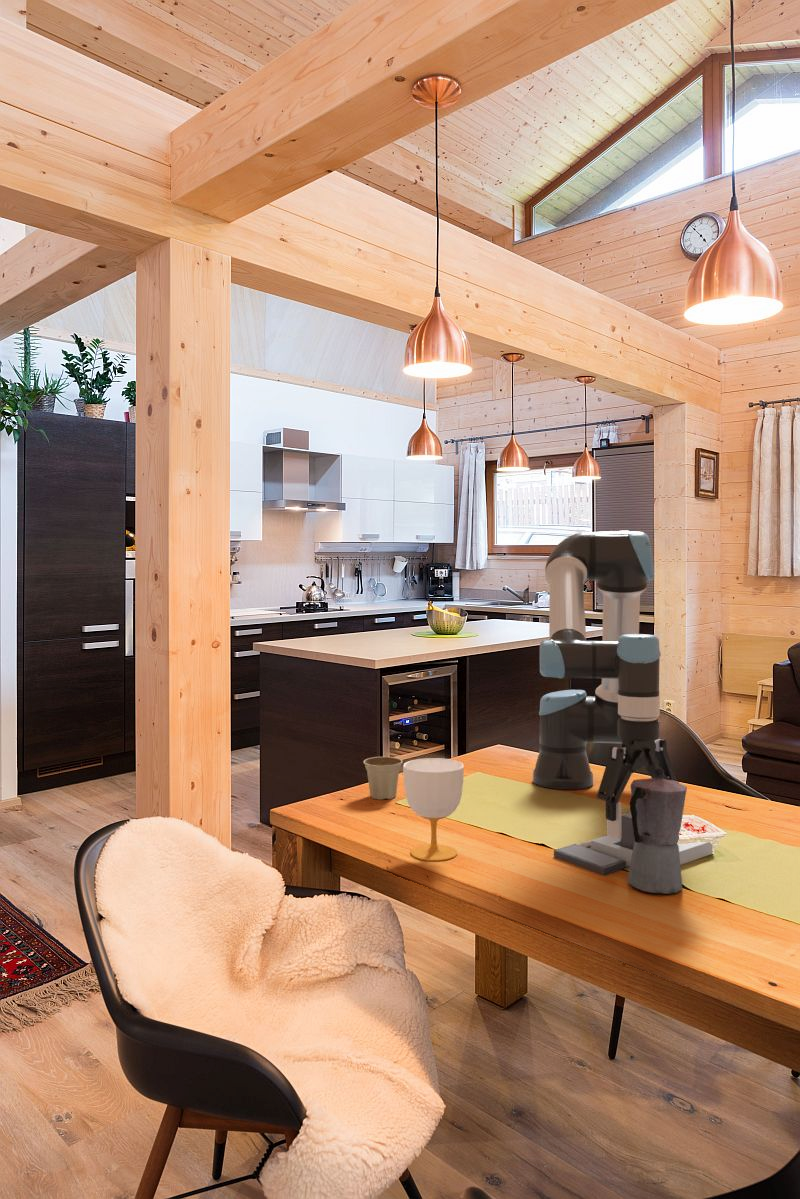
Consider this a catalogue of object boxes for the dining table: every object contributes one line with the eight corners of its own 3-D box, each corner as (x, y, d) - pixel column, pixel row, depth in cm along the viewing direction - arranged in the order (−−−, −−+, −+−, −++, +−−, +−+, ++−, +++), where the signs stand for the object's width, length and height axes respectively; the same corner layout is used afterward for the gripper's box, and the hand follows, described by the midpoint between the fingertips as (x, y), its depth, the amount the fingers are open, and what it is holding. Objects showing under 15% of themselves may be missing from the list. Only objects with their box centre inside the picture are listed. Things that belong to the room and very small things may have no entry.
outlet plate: (650, 835, 167) (650, 821, 166) (712, 853, 155) (712, 839, 155) (591, 853, 156) (591, 839, 156) (652, 874, 145) (652, 859, 145)
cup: (442, 868, 148) (441, 775, 148) (391, 855, 156) (390, 766, 155) (476, 850, 158) (475, 763, 157) (426, 839, 165) (426, 755, 164)
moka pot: (700, 881, 142) (701, 766, 141) (662, 908, 130) (662, 784, 129) (648, 868, 148) (648, 758, 147) (607, 893, 136) (607, 774, 136)
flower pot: (399, 802, 192) (399, 766, 191) (360, 801, 193) (359, 764, 193) (405, 792, 201) (405, 757, 201) (367, 790, 202) (367, 756, 202)
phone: (575, 849, 158) (575, 843, 158) (625, 867, 148) (625, 860, 148) (553, 856, 154) (553, 849, 154) (603, 875, 145) (603, 867, 145)
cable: (612, 837, 165) (612, 832, 165) (616, 839, 164) (616, 834, 164) (575, 848, 159) (575, 843, 159) (579, 850, 158) (579, 845, 158)
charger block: (635, 852, 157) (635, 810, 156) (655, 858, 153) (655, 815, 153) (620, 857, 154) (620, 814, 154) (640, 864, 150) (640, 820, 150)
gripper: (663, 708, 163) (662, 813, 163) (577, 721, 148) (577, 837, 149) (696, 713, 157) (695, 822, 157) (609, 728, 142) (609, 848, 143)
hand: (638, 830), depth 153 cm, fingers open, 13 cm apart
